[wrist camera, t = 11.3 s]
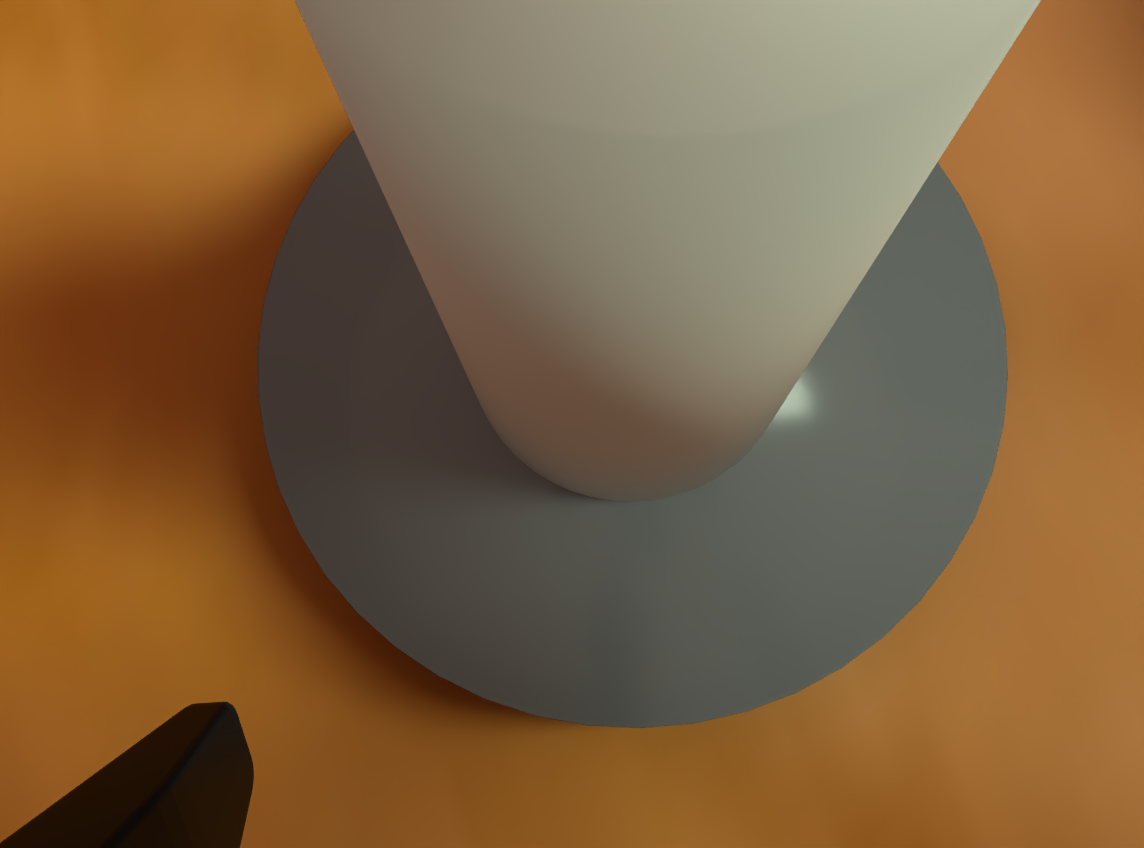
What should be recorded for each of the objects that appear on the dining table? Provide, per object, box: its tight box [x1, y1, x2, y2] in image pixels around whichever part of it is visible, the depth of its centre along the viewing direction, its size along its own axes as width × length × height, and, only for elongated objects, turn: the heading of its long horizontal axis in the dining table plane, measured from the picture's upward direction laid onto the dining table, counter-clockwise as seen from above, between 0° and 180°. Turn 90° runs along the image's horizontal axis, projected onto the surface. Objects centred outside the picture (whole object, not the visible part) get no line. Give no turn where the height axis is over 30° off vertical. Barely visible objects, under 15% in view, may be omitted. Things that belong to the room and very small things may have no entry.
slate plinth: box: [258, 131, 1008, 728], centre depth 20 cm, size 14×14×2 cm
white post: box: [295, 0, 1041, 502], centre depth 13 cm, size 6×6×13 cm
